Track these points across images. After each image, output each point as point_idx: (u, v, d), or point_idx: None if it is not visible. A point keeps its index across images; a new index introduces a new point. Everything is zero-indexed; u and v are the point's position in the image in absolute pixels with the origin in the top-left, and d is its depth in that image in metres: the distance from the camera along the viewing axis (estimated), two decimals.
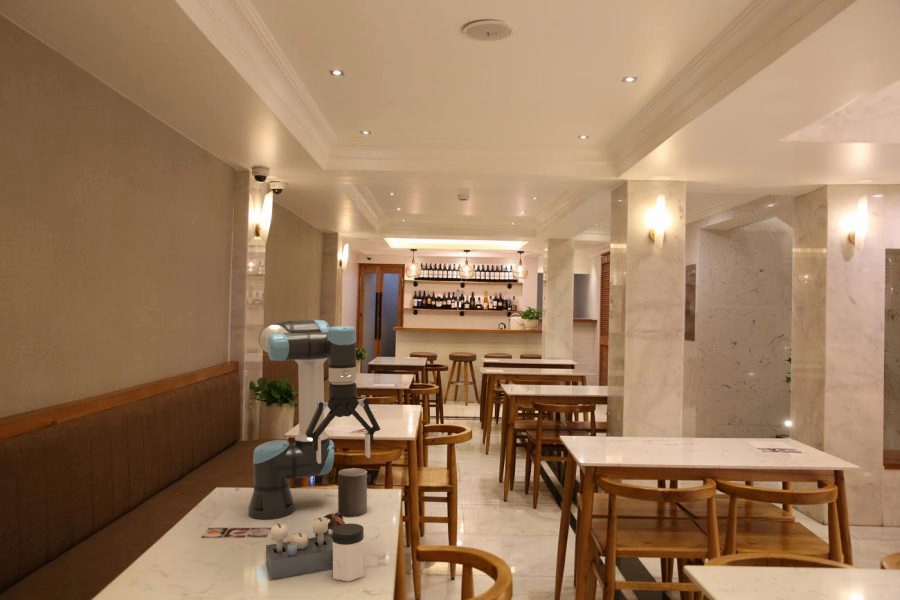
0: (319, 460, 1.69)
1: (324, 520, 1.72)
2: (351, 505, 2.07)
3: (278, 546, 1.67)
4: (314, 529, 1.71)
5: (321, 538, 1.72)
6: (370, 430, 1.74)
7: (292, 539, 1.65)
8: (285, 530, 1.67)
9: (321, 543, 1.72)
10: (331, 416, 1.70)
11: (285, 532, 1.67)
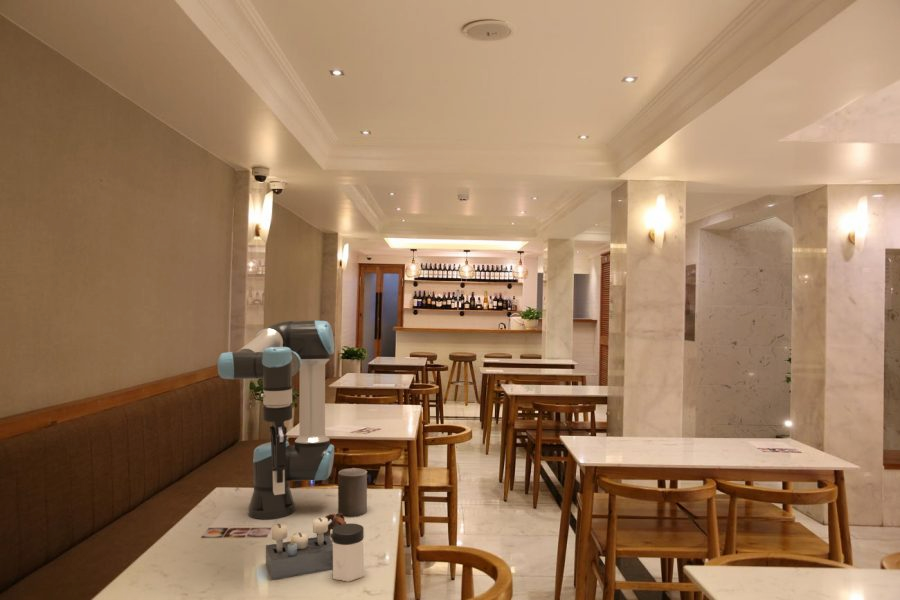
0: (273, 489, 1.69)
1: (324, 520, 1.72)
2: (351, 505, 2.07)
3: (278, 546, 1.67)
4: (314, 529, 1.71)
5: (321, 538, 1.72)
6: (274, 466, 1.66)
7: (292, 539, 1.65)
8: (285, 530, 1.67)
9: (321, 543, 1.72)
10: (271, 440, 1.69)
11: (285, 532, 1.67)
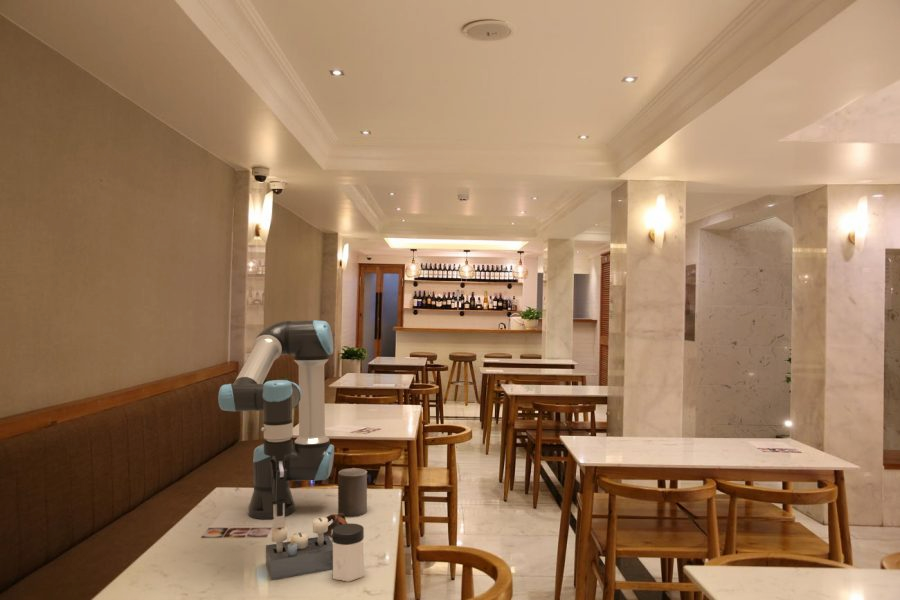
0: None
1: (324, 520, 1.72)
2: (351, 505, 2.07)
3: (278, 548, 1.67)
4: (314, 529, 1.71)
5: (321, 538, 1.72)
6: (274, 500, 1.66)
7: (292, 539, 1.65)
8: (285, 532, 1.67)
9: (321, 543, 1.72)
10: (271, 474, 1.69)
11: (285, 534, 1.67)
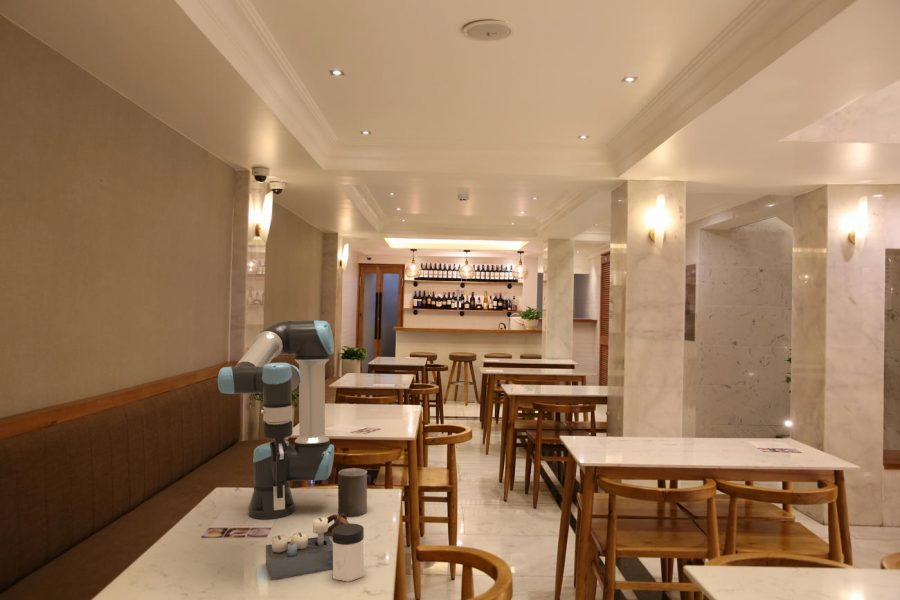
0: (273, 505, 1.68)
1: (324, 520, 1.72)
2: (351, 505, 2.07)
3: None
4: (314, 529, 1.71)
5: (321, 538, 1.72)
6: (274, 482, 1.67)
7: (292, 539, 1.65)
8: (285, 542, 1.67)
9: (321, 543, 1.72)
10: (271, 456, 1.69)
11: (285, 544, 1.67)
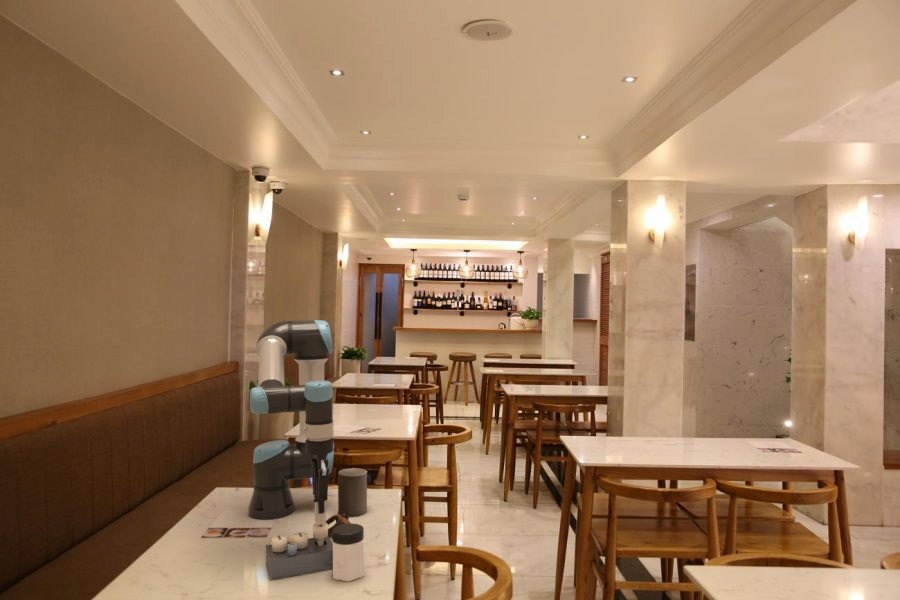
0: (315, 521, 1.72)
1: (324, 525, 1.72)
2: (351, 505, 2.07)
3: None
4: (314, 534, 1.71)
5: (321, 543, 1.72)
6: (316, 497, 1.71)
7: (292, 539, 1.65)
8: (285, 542, 1.67)
9: None
10: (312, 472, 1.73)
11: (285, 544, 1.67)
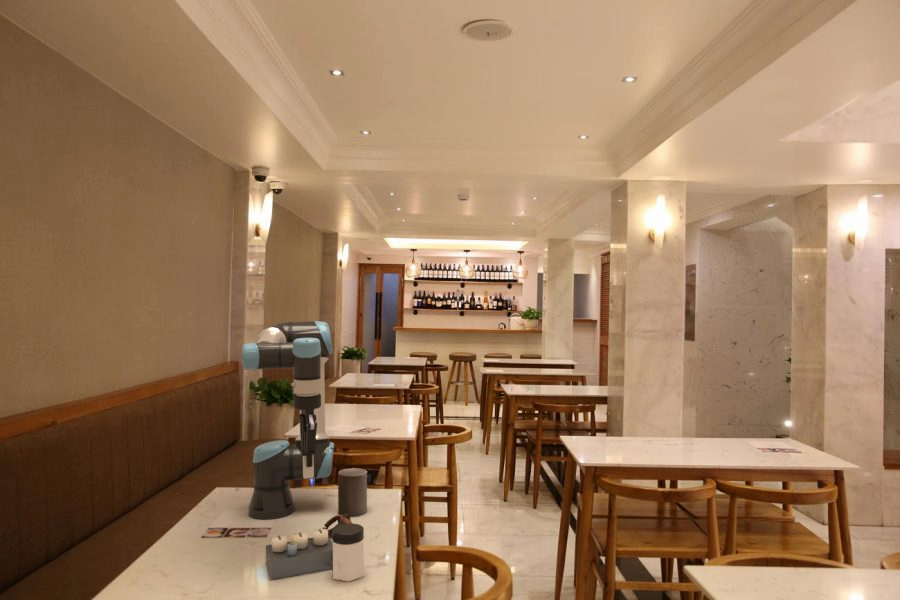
0: (303, 474, 1.76)
1: (324, 532, 1.72)
2: (351, 505, 2.07)
3: None
4: (314, 541, 1.71)
5: None
6: (304, 451, 1.74)
7: (292, 539, 1.65)
8: (285, 542, 1.67)
9: None
10: (300, 427, 1.76)
11: (285, 544, 1.67)
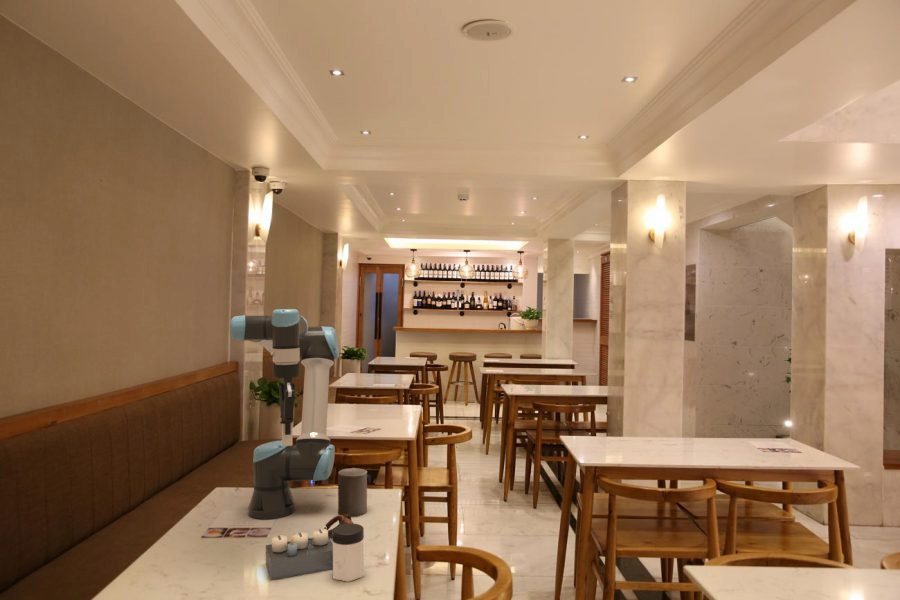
0: (282, 442, 1.80)
1: (324, 532, 1.72)
2: (351, 505, 2.07)
3: None
4: (314, 541, 1.71)
5: None
6: (283, 419, 1.78)
7: (292, 539, 1.65)
8: (285, 542, 1.67)
9: None
10: None
11: (285, 544, 1.67)
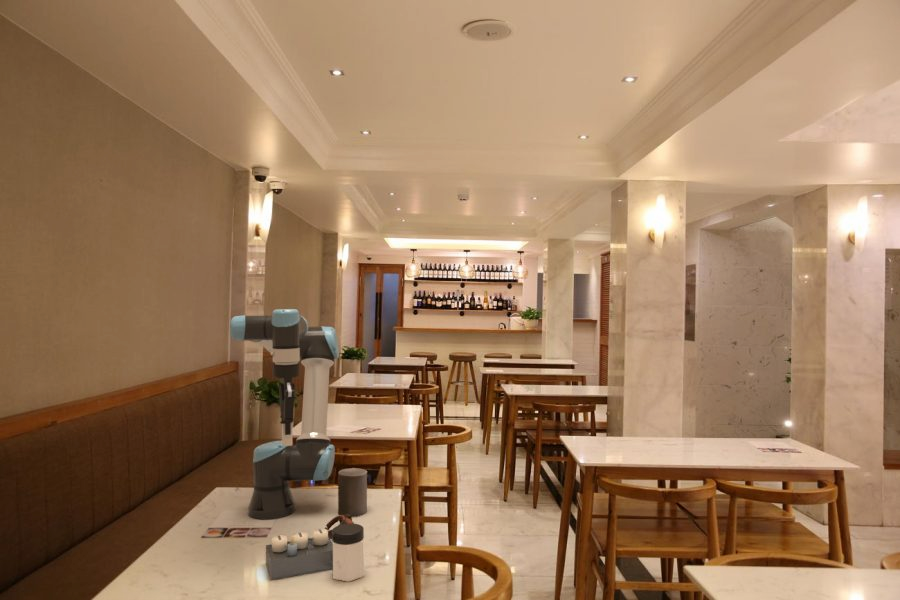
0: (282, 442, 1.80)
1: (324, 532, 1.72)
2: (351, 505, 2.07)
3: None
4: (314, 541, 1.71)
5: None
6: (283, 419, 1.78)
7: (292, 539, 1.65)
8: (285, 542, 1.67)
9: None
10: None
11: (285, 544, 1.67)
